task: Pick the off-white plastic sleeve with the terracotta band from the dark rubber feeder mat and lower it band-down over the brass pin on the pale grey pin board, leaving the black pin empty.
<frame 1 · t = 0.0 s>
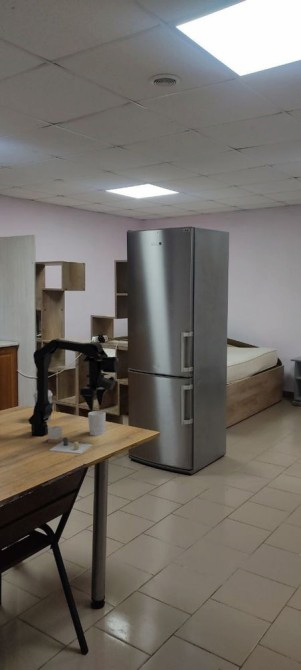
hand: (95, 407, 218), 15 cm above the table, fingers open, 9 cm apart
sleeve: (55, 440, 218), point 1 cm above the table, touching feeder mat
white cup: (97, 435, 228), on the table
feeder mat: (55, 441, 219), on the table
coffee cup: (44, 421, 254), on the table
pin board: (71, 449, 208), on the table
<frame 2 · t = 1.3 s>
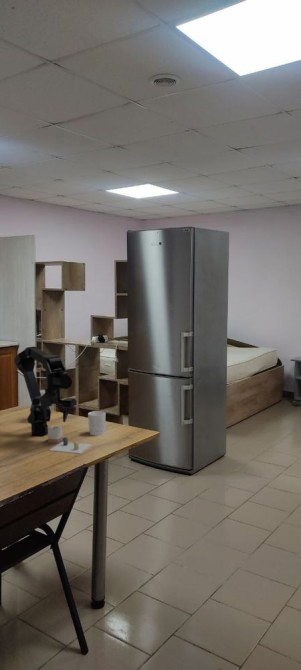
hand: (54, 421, 217), 9 cm above the table, fingers open, 9 cm apart
nothing on the table moved.
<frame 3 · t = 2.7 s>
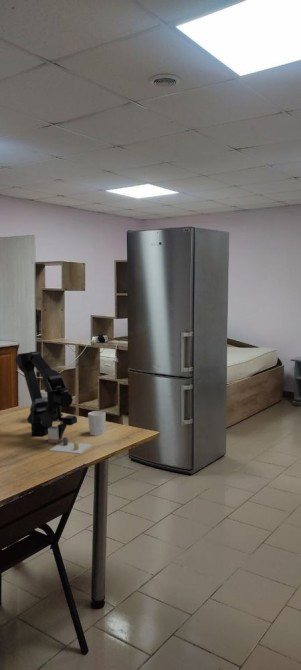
hand: (55, 438, 218), 2 cm above the table, fingers closed on sleeve, 4 cm apart
sleeve: (55, 440, 218), point 1 cm above the table, touching feeder mat, gripper
everything else where it was.
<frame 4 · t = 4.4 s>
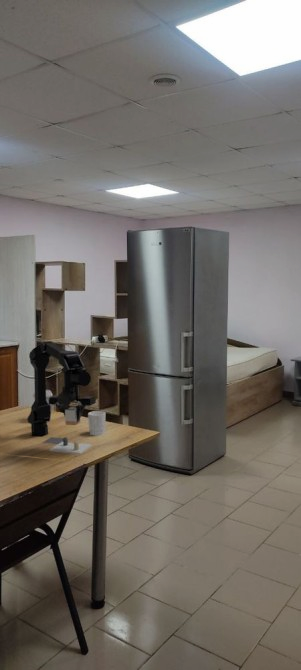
hand: (72, 421, 205), 12 cm above the table, fingers closed on sleeve, 4 cm apart
sleeve: (73, 423, 205), point 11 cm above the table, touching gripper
everything else where it was.
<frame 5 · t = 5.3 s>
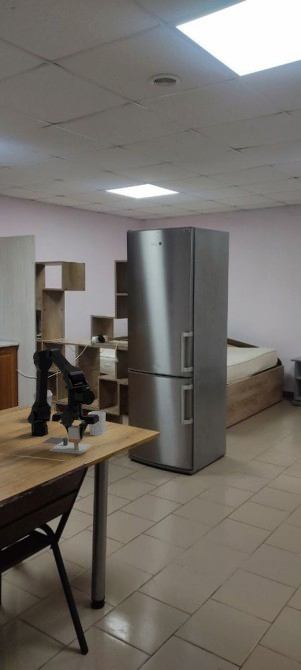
hand: (75, 438, 205), 5 cm above the table, fingers closed on sleeve, 4 cm apart
sleeve: (76, 441, 205), point 4 cm above the table, touching gripper
everything else where it was.
when the fingers open (3 cm above the table, at t = 6.2 s): sleeve stays where it is, resting on pin board.
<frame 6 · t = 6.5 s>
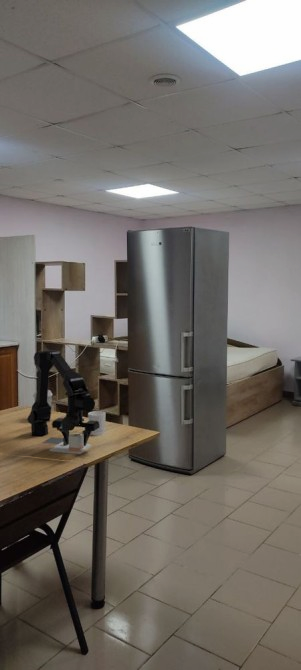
hand: (76, 445, 205), 3 cm above the table, fingers open, 7 cm apart
sleeve: (76, 449, 205), point 1 cm above the table, touching pin board
everything else where it was.
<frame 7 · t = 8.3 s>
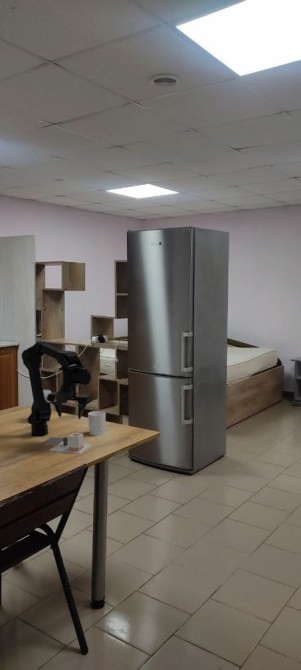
hand: (69, 417, 214), 11 cm above the table, fingers open, 9 cm apart
nothing on the table moved.
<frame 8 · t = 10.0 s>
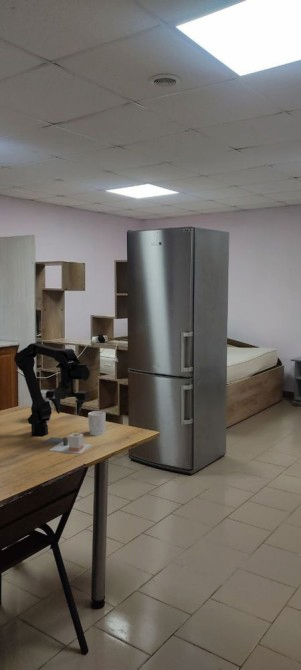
hand: (68, 414, 218), 12 cm above the table, fingers open, 9 cm apart
nothing on the table moved.
at the end: sleeve 0.0 cm from the target spot on the pin board, point 1.0 cm above the pin board's base; sleeve tilted 0°; the gripper is holding nothing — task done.
